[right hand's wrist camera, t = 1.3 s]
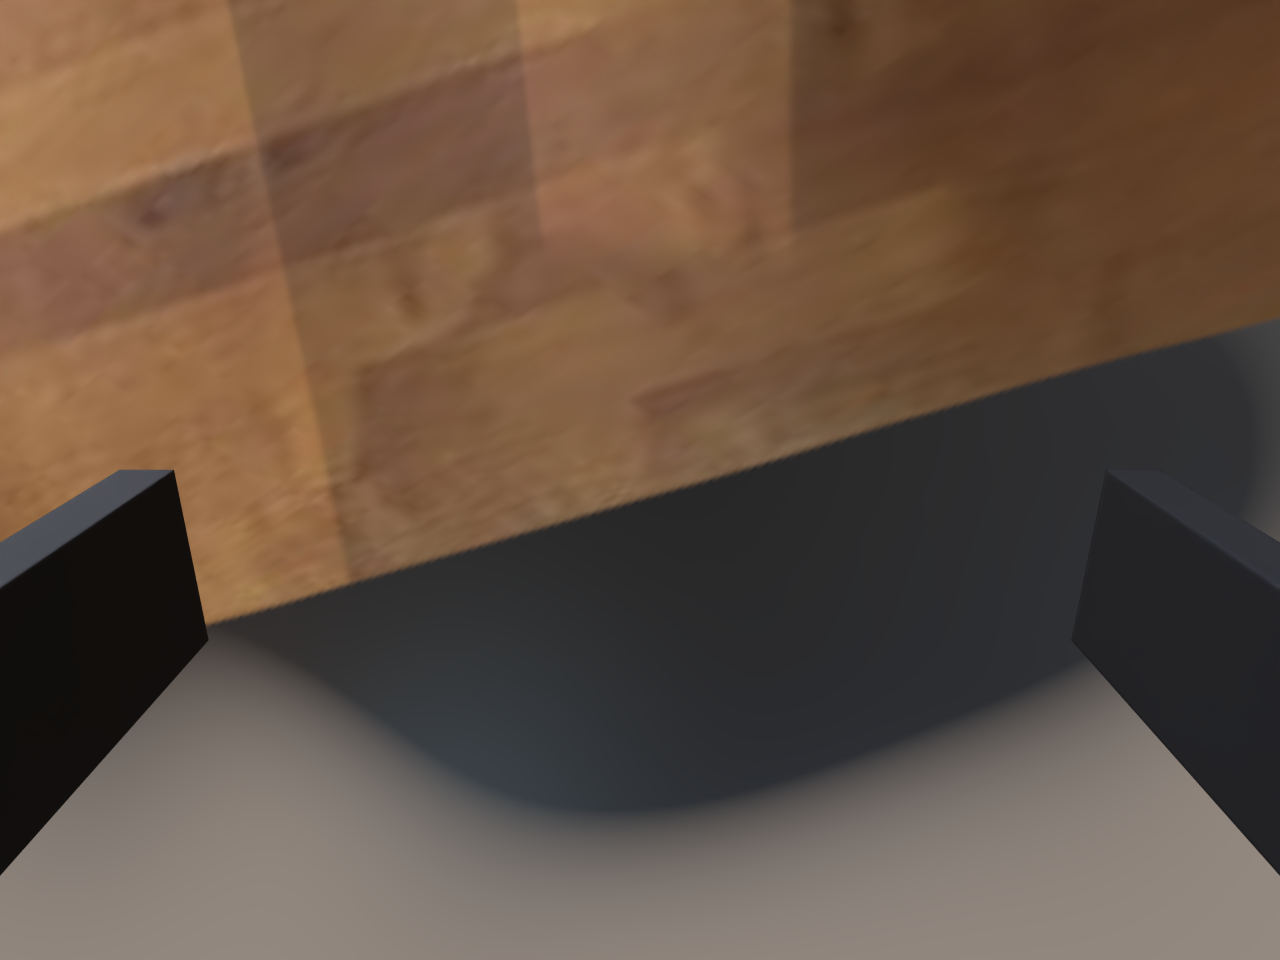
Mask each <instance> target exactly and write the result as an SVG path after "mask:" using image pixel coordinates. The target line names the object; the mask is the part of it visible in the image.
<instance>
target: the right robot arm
mask: <svg viewBox="0 0 1280 960" xmlns="http://www.w3.org/2000/svg"><path fill="white" fill-rule="evenodd" d="M207 641H208V635H207V631H206V625H205V620H204V616H203V611H202V606H201V601H200V596H199V591H198V586H197V581H196V576H195V571H194V566H193V561H192V557H191V552H190V547H189V542H188V537H187V532H186V527H185V522H184V517H183V512H182V507H181V502H180V497H179V493H178V488H177V483H176V478H175V473H174V470H119V471H117V472H115V473H114V474H112V475H110V476H109V477H107V478H105V479H104V480H102V481H101V482H99V483H97V484H96V485H94V486H92V487H91V488H89V489H87V490H86V491H84V492H82V493H81V494H79V495H78V496H76V497H74V498H73V499H71V500H69V501H68V502H66V503H64V504H63V505H61V506H59V507H58V508H56V509H55V510H53V511H51V512H50V513H48V514H46V515H45V516H43V517H41V518H40V519H38V520H37V521H35V522H33V523H32V524H30V525H28V526H27V527H25V528H23V529H22V530H20V531H18V532H17V533H15V534H14V535H12V536H10V537H9V538H7V539H5V540H4V541H2V542H0V875H1V874H2V873H3V872H4V871H5V870H6V868H7V867H8V866H9V865H10V864H11V863H12V862H13V860H14V859H15V858H16V857H17V856H18V855H19V854H20V853H21V851H22V850H23V849H24V848H25V847H26V846H27V845H28V844H29V842H30V841H31V840H32V839H33V838H34V837H35V836H36V835H37V833H38V832H39V831H40V830H41V829H42V828H43V827H44V825H45V824H46V823H47V822H48V821H49V820H50V819H51V818H52V816H53V815H54V814H55V813H56V812H57V811H58V810H59V809H60V807H61V806H62V805H63V804H64V803H65V802H66V801H67V800H68V798H69V797H70V796H71V795H72V794H73V793H74V792H75V790H76V789H77V788H78V787H79V786H80V785H81V784H82V783H83V781H84V780H85V779H86V778H87V777H88V776H89V775H90V773H91V772H92V771H93V770H94V769H95V768H96V767H97V766H98V764H99V763H100V762H101V761H102V760H103V759H104V758H105V757H106V755H107V754H108V753H109V752H110V751H111V750H112V749H113V748H114V746H115V745H116V744H117V743H118V742H119V741H120V740H121V739H122V737H123V736H124V735H125V734H126V733H127V732H128V731H129V729H130V728H131V727H132V726H133V725H134V724H135V723H136V721H137V720H138V719H139V718H140V717H141V716H142V715H143V714H144V713H145V711H146V710H147V709H148V708H149V707H150V706H151V705H152V703H153V702H154V701H155V700H156V699H157V698H158V697H159V696H160V694H161V693H162V692H163V691H164V690H165V689H166V688H167V687H168V685H169V684H170V683H171V682H172V681H173V680H174V679H175V677H176V676H177V675H178V674H179V673H180V672H181V671H182V670H183V668H184V667H185V666H186V665H187V664H188V663H189V662H190V660H191V659H192V658H193V657H194V656H195V655H196V654H197V653H198V652H199V650H200V649H201V648H202V647H203V646H204V645H205V644H206V642H207ZM1072 641H1073V642H1074V644H1075V645H1076V646H1077V647H1078V648H1079V649H1080V650H1081V651H1082V653H1083V654H1084V655H1085V656H1086V657H1087V658H1088V659H1089V661H1090V662H1091V663H1092V664H1093V665H1094V666H1095V667H1096V668H1097V670H1098V671H1099V672H1100V673H1101V674H1102V675H1103V676H1104V677H1105V679H1106V680H1107V681H1108V682H1109V683H1110V684H1111V685H1112V687H1113V688H1114V689H1115V690H1116V691H1117V692H1118V693H1119V694H1120V695H1121V697H1122V698H1123V699H1124V700H1125V701H1126V702H1127V703H1128V705H1129V706H1130V707H1131V708H1132V709H1133V710H1134V711H1135V713H1136V714H1137V715H1138V716H1139V717H1140V718H1141V719H1142V720H1143V722H1144V723H1145V724H1146V725H1147V726H1148V727H1149V728H1150V729H1151V731H1152V732H1153V733H1154V734H1155V735H1156V736H1157V737H1158V739H1159V740H1160V741H1161V742H1162V743H1163V744H1164V745H1165V746H1166V748H1167V749H1168V750H1169V751H1170V752H1171V753H1172V754H1173V755H1174V757H1175V758H1176V759H1177V760H1178V761H1179V762H1180V763H1181V764H1182V766H1183V767H1184V768H1185V769H1186V770H1187V771H1188V772H1189V774H1190V775H1191V776H1192V777H1193V778H1194V779H1195V780H1196V781H1197V783H1198V784H1199V785H1200V786H1201V787H1202V788H1203V789H1204V790H1205V792H1206V793H1207V794H1208V795H1209V796H1210V797H1211V798H1212V799H1213V801H1214V802H1215V803H1216V804H1217V805H1218V806H1219V807H1220V809H1221V810H1222V811H1223V812H1224V813H1225V814H1226V815H1227V816H1228V818H1229V819H1230V820H1231V821H1232V822H1233V823H1234V824H1235V825H1236V827H1237V828H1238V829H1239V830H1240V831H1241V832H1242V833H1243V835H1244V836H1245V837H1246V838H1247V839H1248V840H1249V841H1250V842H1251V844H1252V845H1253V846H1254V847H1255V848H1256V849H1257V850H1258V851H1259V853H1260V854H1261V855H1262V856H1263V857H1264V858H1265V859H1266V861H1267V862H1268V863H1269V864H1270V865H1271V866H1272V867H1273V868H1274V870H1275V871H1276V872H1277V873H1278V874H1279V875H1280V542H1278V541H1276V540H1275V539H1273V538H1271V537H1270V536H1268V535H1266V534H1265V533H1263V532H1262V531H1260V530H1258V529H1257V528H1255V527H1253V526H1252V525H1250V524H1248V523H1247V522H1245V521H1243V520H1242V519H1240V518H1239V517H1237V516H1235V515H1234V514H1232V513H1230V512H1229V511H1227V510H1225V509H1224V508H1222V507H1221V506H1219V505H1217V504H1216V503H1214V502H1212V501H1211V500H1209V499H1207V498H1206V497H1204V496H1202V495H1201V494H1199V493H1197V492H1196V491H1194V490H1193V489H1191V488H1189V487H1188V486H1186V485H1184V484H1183V483H1181V482H1179V481H1178V480H1176V479H1175V478H1173V477H1171V476H1170V475H1168V474H1166V473H1165V472H1163V471H1161V470H1106V473H1105V478H1104V483H1103V488H1102V493H1101V497H1100V502H1099V507H1098V512H1097V517H1096V522H1095V527H1094V532H1093V537H1092V542H1091V547H1090V552H1089V557H1088V561H1087V566H1086V571H1085V576H1084V581H1083V586H1082V591H1081V596H1080V601H1079V606H1078V611H1077V616H1076V620H1075V625H1074V630H1073V635H1072Z"/></svg>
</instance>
